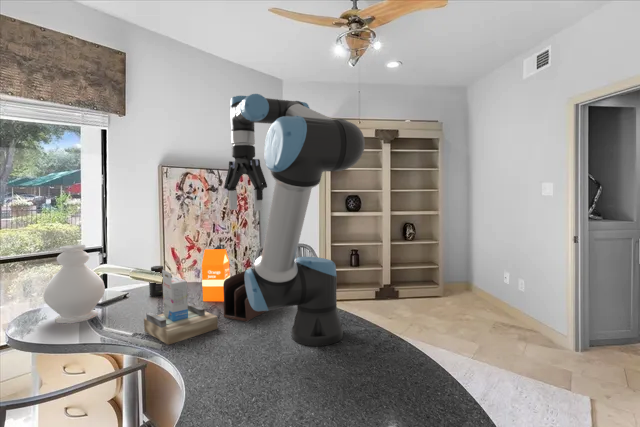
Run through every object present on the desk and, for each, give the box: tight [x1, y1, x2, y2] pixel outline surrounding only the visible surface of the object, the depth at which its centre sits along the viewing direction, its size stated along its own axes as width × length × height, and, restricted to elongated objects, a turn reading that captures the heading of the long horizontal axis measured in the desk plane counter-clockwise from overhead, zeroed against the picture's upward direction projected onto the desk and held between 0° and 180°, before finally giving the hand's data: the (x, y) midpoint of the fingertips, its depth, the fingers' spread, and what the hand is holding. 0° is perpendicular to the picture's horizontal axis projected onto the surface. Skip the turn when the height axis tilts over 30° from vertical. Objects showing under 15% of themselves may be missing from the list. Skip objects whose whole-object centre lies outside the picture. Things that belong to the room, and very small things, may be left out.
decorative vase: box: [43, 244, 106, 325], centre depth 129 cm, size 18×18×25 cm
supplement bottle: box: [148, 265, 165, 298], centre depth 156 cm, size 7×7×12 cm
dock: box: [143, 302, 219, 346], centre depth 116 cm, size 16×16×6 cm
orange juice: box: [201, 248, 231, 302], centre depth 149 cm, size 8×9×20 cm
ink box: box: [162, 270, 189, 321], centre depth 116 cm, size 8×5×15 cm, turn 41°
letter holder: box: [223, 270, 267, 322], centre depth 133 cm, size 10×20×14 cm, turn 152°
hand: (245, 210), depth 123 cm, fingers open, 13 cm apart
